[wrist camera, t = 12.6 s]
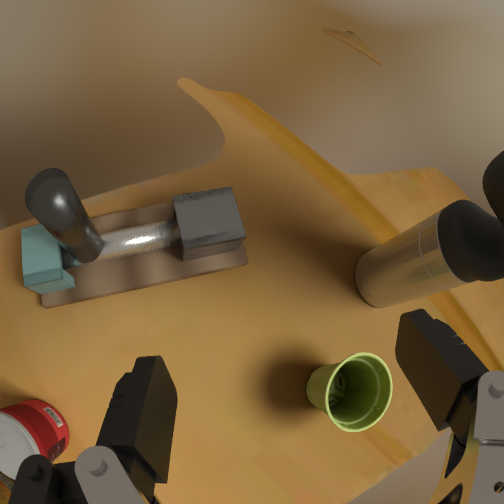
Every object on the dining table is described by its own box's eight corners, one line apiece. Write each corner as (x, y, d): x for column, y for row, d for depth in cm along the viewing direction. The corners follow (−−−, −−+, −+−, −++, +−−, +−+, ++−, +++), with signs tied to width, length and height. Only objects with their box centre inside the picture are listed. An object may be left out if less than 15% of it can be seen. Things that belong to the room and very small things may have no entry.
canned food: (19, 391, 27) (-25, 401, 16) (71, 407, 28) (36, 426, 18) (21, 442, 24) (-18, 465, 14) (72, 459, 26) (43, 492, 16)
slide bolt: (190, 218, 38) (204, 138, 23) (197, 248, 37) (216, 180, 22) (43, 250, 31) (-20, 191, 16) (45, 281, 30) (-24, 235, 16)
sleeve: (224, 205, 40) (231, 186, 35) (237, 250, 38) (246, 236, 34) (172, 214, 38) (172, 196, 33) (182, 261, 36) (184, 249, 32)
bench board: (225, 197, 42) (227, 192, 41) (245, 265, 40) (248, 262, 38) (40, 235, 33) (36, 231, 32) (47, 308, 31) (42, 306, 30)
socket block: (69, 235, 33) (56, 219, 29) (74, 286, 32) (61, 277, 27) (36, 243, 32) (21, 229, 27) (40, 294, 30) (23, 286, 26)
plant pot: (345, 343, 40) (382, 340, 32) (360, 402, 38) (399, 409, 30) (286, 367, 37) (315, 371, 29) (304, 429, 35) (336, 445, 27)
